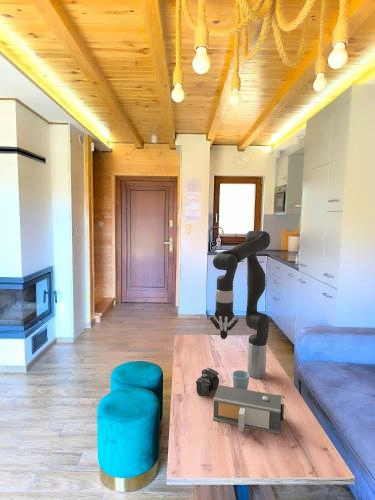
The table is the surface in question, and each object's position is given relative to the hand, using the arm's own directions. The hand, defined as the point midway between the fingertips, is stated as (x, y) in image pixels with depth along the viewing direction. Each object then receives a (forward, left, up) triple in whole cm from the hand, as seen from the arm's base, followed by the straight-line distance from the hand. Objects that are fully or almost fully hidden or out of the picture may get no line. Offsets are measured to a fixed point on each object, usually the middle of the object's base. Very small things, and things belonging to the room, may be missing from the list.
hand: (223, 338), depth 138 cm
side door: (+16, +15, -28) cm, 36 cm away
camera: (-7, -9, -29) cm, 31 cm away
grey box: (+8, +12, -29) cm, 32 cm away
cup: (-7, +7, -29) cm, 31 cm away
